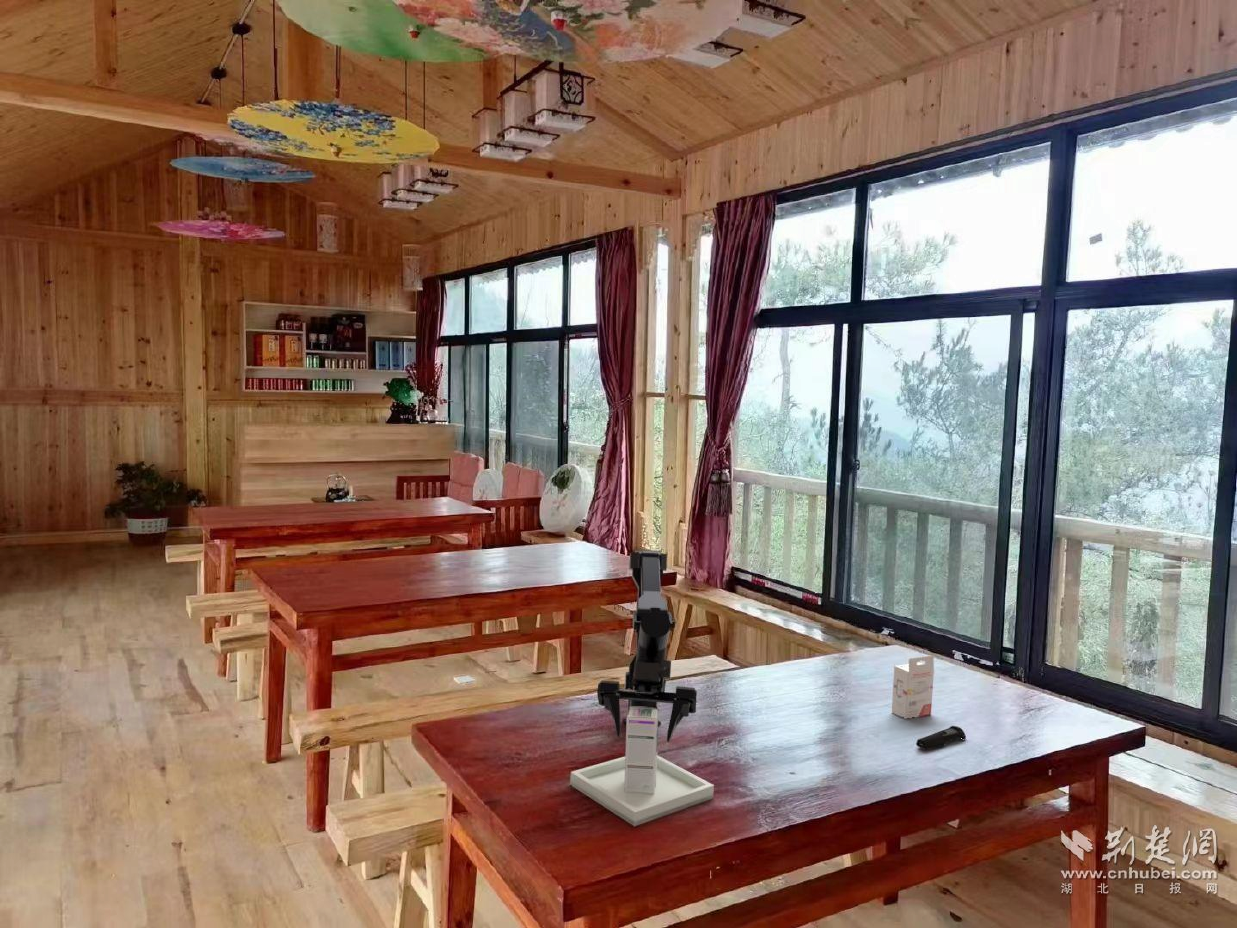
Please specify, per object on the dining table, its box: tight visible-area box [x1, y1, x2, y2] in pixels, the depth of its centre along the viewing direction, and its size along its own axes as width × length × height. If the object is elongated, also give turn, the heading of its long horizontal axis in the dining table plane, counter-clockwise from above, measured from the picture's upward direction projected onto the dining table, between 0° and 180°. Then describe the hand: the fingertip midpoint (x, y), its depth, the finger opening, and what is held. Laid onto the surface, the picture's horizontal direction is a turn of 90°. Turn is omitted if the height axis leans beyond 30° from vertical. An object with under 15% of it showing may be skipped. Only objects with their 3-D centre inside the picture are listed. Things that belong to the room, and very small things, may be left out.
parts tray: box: [569, 754, 715, 827], centre depth 163 cm, size 19×19×2 cm
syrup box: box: [624, 706, 659, 794], centre depth 163 cm, size 6×6×14 cm
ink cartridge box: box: [891, 655, 935, 720], centre depth 211 cm, size 9×5×15 cm, turn 117°
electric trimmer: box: [915, 725, 967, 750], centre depth 194 cm, size 4×16×3 cm, turn 126°
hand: (643, 739), depth 161 cm, fingers open, 9 cm apart
